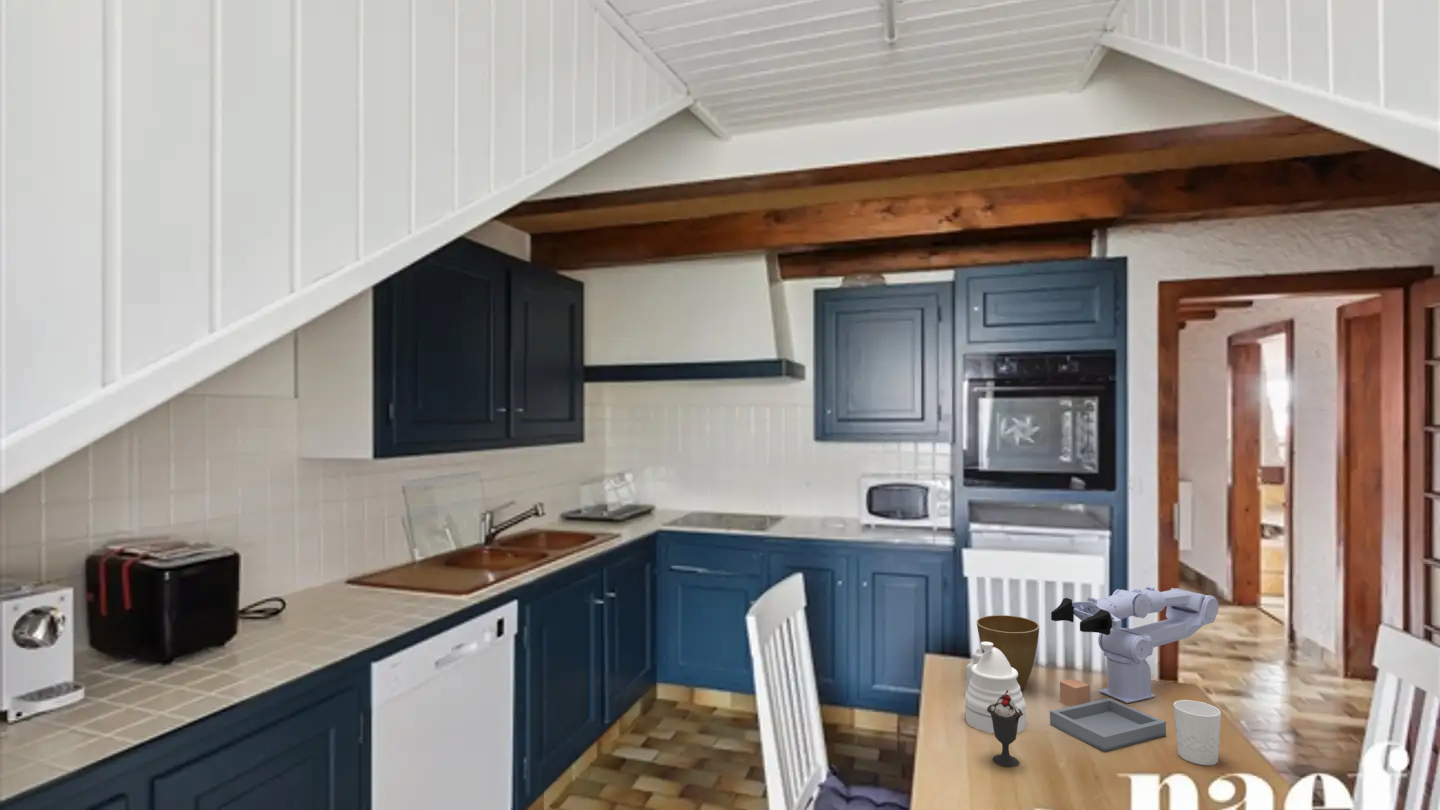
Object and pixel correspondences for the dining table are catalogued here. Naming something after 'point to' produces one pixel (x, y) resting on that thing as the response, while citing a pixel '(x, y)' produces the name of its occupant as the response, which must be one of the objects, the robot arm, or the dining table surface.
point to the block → (1074, 692)
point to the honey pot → (992, 688)
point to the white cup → (1197, 731)
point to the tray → (1107, 724)
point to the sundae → (1005, 727)
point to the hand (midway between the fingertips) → (1066, 621)
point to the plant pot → (1012, 641)
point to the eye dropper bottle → (975, 660)
